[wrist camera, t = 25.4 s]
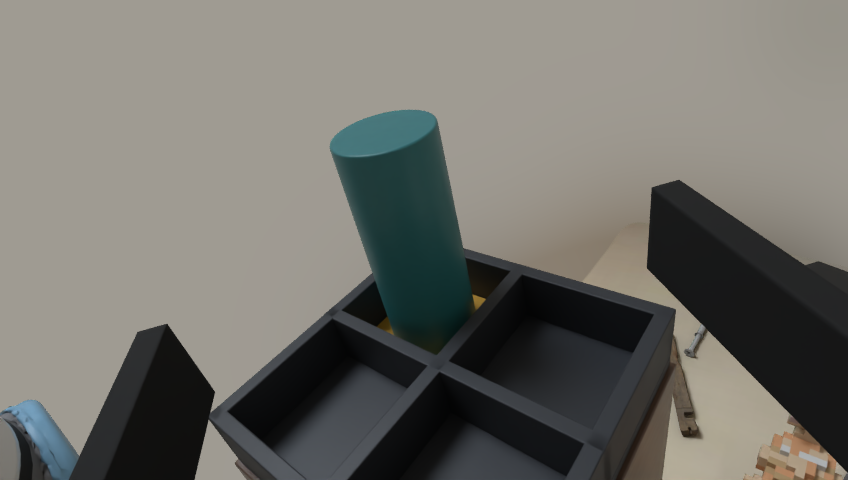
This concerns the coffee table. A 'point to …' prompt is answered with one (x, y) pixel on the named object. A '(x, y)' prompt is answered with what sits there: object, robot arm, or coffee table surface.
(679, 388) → the wooden plank
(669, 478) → the coffee table surface
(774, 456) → the dinosaur toy
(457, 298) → the teal cylinder
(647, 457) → the stand
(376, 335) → the grid tray
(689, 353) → the wall anchor
